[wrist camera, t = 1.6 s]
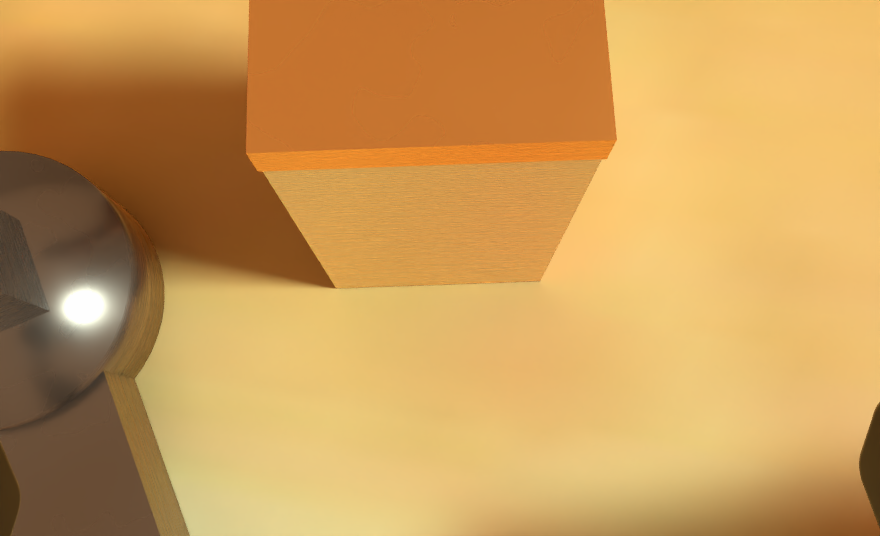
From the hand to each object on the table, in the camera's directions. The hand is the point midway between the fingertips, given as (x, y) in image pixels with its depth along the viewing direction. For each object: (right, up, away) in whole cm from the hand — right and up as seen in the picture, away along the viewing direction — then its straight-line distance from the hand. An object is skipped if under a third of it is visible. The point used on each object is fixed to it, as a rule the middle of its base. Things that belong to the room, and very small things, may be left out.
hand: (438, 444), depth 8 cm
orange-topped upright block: (0, +4, +14) cm, 15 cm away
